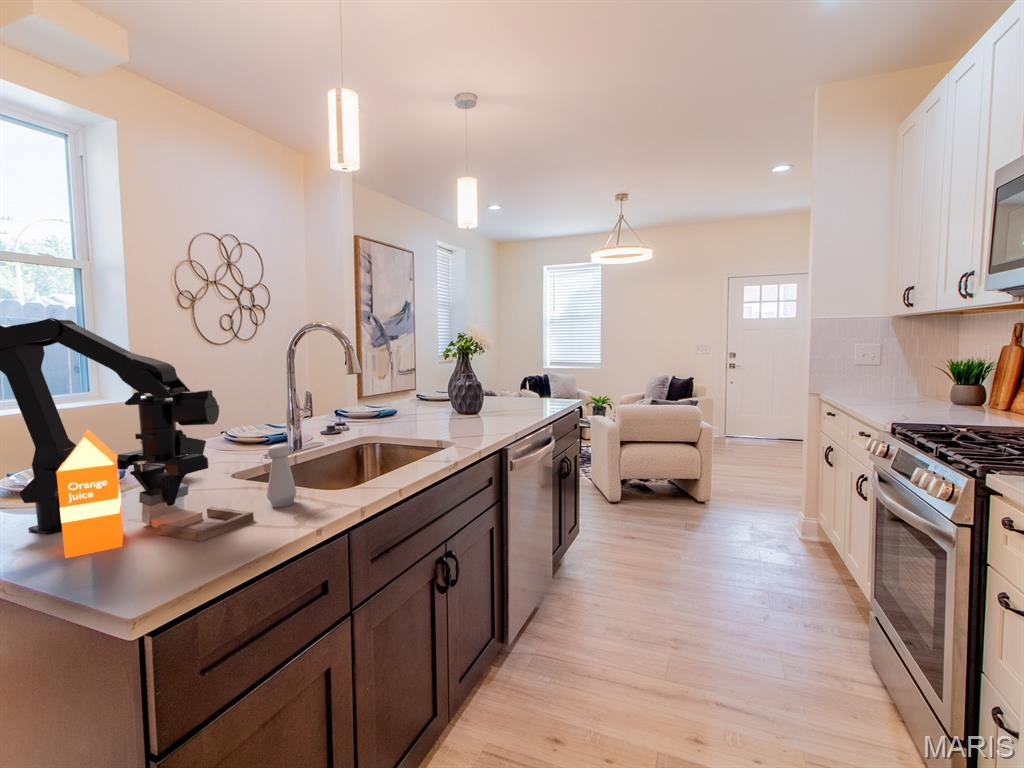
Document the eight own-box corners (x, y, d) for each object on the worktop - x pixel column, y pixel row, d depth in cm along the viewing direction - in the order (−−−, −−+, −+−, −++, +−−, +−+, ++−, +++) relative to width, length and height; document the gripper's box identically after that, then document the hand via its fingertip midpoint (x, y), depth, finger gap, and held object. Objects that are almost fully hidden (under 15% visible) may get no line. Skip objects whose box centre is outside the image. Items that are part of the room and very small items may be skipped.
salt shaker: (285, 509, 106) (281, 448, 105) (261, 508, 107) (257, 447, 106) (302, 500, 111) (299, 442, 110) (279, 499, 113) (275, 442, 111)
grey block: (138, 521, 98) (139, 492, 97) (176, 509, 105) (177, 481, 104) (149, 526, 97) (150, 496, 96) (186, 513, 104) (188, 485, 103)
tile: (151, 528, 97) (151, 519, 97) (181, 517, 103) (180, 509, 103) (173, 531, 95) (173, 522, 95) (202, 520, 101) (202, 512, 101)
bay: (157, 534, 93) (157, 526, 93) (212, 514, 103) (212, 506, 103) (201, 541, 89) (200, 533, 89) (253, 520, 100) (253, 512, 99)
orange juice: (63, 558, 83) (51, 439, 82) (70, 541, 90) (59, 431, 89) (123, 546, 88) (113, 433, 86) (124, 531, 95) (115, 426, 93)
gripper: (229, 421, 103) (235, 496, 104) (165, 418, 109) (171, 488, 111) (176, 431, 93) (183, 514, 94) (109, 427, 99) (116, 504, 100)
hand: (164, 504), depth 100 cm, fingers closed on grey block, 3 cm apart
